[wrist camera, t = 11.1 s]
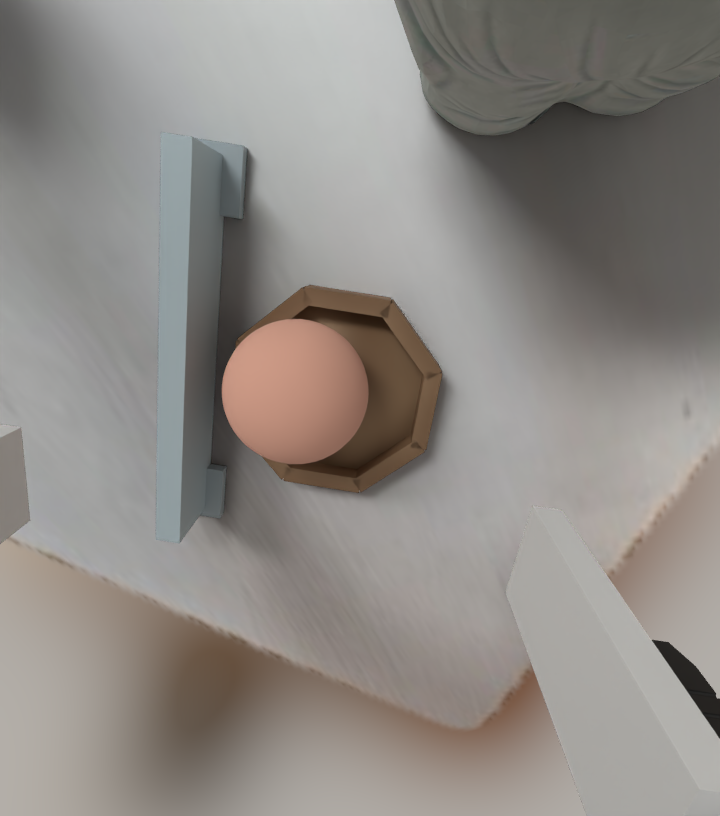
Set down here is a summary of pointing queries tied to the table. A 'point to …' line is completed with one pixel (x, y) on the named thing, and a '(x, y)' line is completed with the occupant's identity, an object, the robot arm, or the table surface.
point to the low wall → (191, 323)
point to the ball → (295, 391)
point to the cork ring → (369, 386)
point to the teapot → (557, 56)
